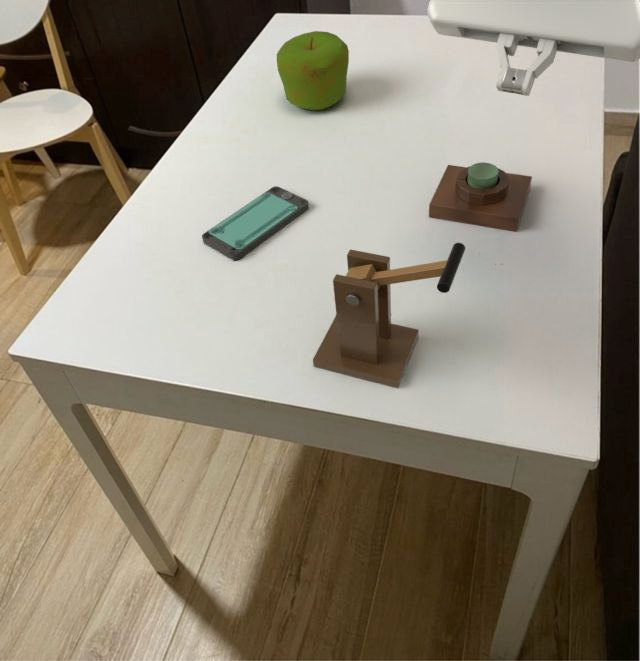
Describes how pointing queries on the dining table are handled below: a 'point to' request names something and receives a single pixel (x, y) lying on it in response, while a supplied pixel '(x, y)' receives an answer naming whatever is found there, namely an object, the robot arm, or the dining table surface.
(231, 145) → the dining table surface
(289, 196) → the smartphone
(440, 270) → the switch lever
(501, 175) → the button block
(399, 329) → the switch bracket
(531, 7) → the robot arm
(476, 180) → the light button
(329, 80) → the apple
